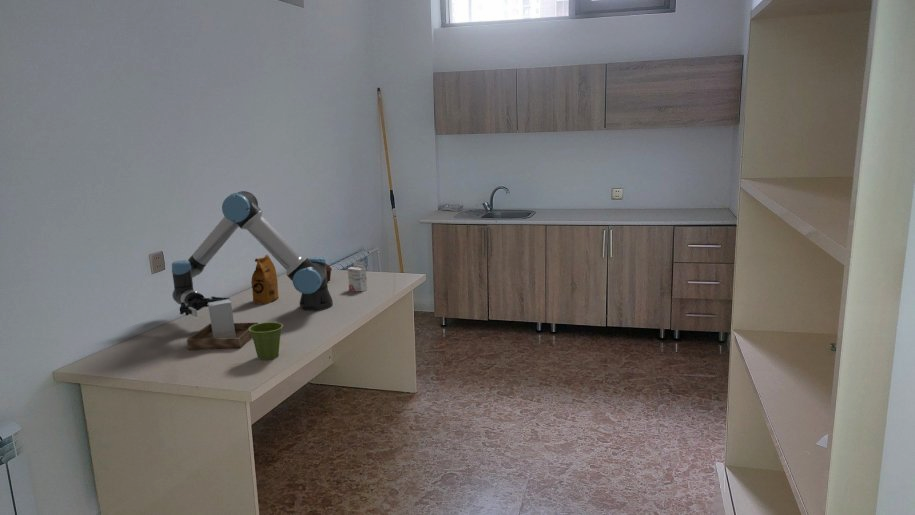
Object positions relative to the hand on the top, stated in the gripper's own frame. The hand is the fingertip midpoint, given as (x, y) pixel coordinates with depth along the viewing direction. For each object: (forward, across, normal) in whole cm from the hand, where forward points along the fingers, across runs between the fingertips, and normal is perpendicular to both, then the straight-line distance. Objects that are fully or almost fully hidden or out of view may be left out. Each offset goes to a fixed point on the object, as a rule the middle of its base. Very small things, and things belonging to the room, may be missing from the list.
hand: (213, 309), depth 243 cm
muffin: (-50, -79, -11) cm, 94 cm away
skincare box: (+9, 0, -10) cm, 13 cm away
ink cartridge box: (-18, -81, -11) cm, 83 cm away
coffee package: (-36, -39, -11) cm, 54 cm away
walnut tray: (+9, 0, -11) cm, 14 cm away
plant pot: (+39, -3, -11) cm, 41 cm away
